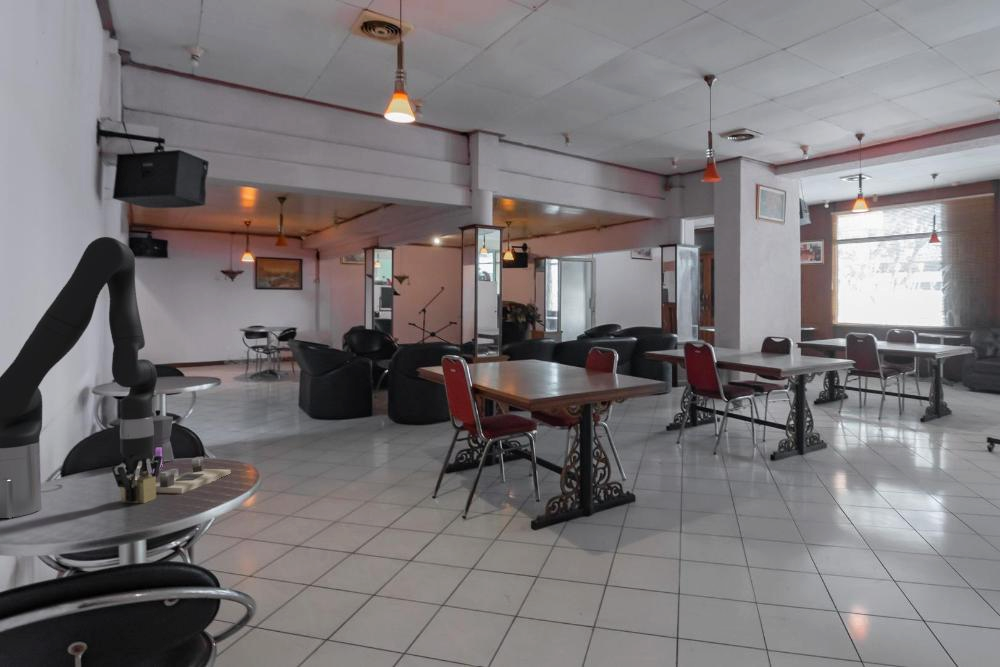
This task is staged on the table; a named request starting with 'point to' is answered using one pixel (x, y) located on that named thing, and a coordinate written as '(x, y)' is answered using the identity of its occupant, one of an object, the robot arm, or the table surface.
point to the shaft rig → (188, 478)
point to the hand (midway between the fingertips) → (139, 498)
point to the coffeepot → (163, 435)
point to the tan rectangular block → (142, 489)
